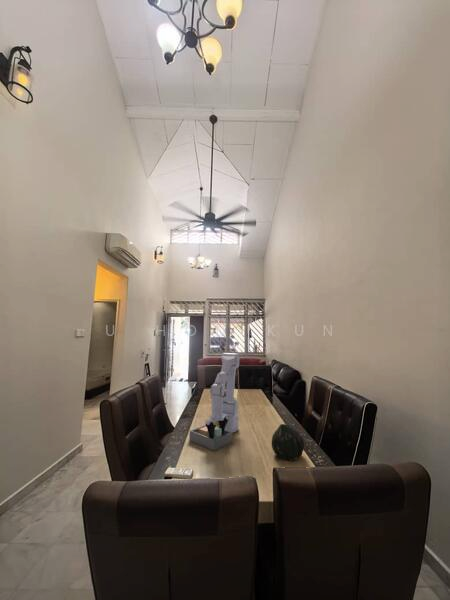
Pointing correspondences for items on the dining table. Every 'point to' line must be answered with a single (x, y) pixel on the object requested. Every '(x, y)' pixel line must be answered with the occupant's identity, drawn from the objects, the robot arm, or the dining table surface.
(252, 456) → the dining table surface
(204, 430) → the terracotta cube
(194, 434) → the tray
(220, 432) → the sage cylinder
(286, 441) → the squash
